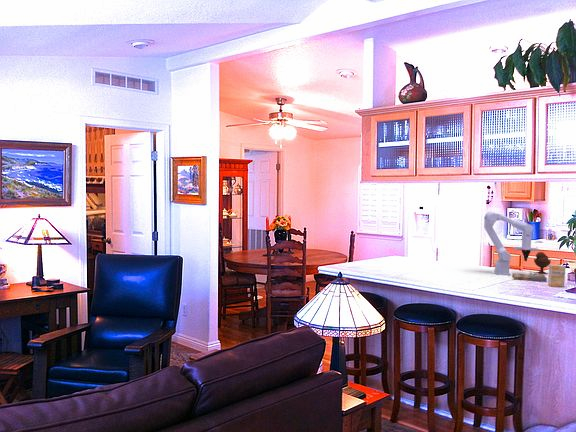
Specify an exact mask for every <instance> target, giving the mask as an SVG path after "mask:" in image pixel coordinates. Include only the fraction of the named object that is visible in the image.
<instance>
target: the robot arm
mask: <svg viewBox="0 0 576 432" xmlns="http://www.w3.org/2000/svg"><path fill="white" fill-rule="evenodd" d="M483 217H484V223H483V225H484V230H485V231H486V233H487V235H488V237H489V239H490V241H491V243H493V246H494V247H495V249H496V253H497V257H498V260H495V262H494V275H509V276H510V275H511V274H510V266H511V265H510V264H511V261H510V260H511V258H512V255H511V253H510V252H508V251H507V249H506V248H505V247H504V245H503V243H502V241H501V239H500V237H499V236H498V234H497V232H496V230H495V229H494V225H495V223H496V222H497V221H503V222H506V223H508V224H510V225H511V226H512V228H515V229H517V230H520V231H521V232H522V235H521V236H522V237H521V246H515V247H514V251H521V253H522V256H523V258H524V259H523V260H524V261H523V262H527V261H528V259H529V256H530V254H531V251H532V252H538V250H539V248H538V247H532V232H533V230H534V228H533V227H534V226H532V224H529V223H527V222H526V221H522V220H521V219H519V218H518V219H515V218H514V219H512V218H510V217H508V216H506V215H504V214H500V213H496V212H492V211H487V212H486V213H485V215H484V216H483Z"/></svg>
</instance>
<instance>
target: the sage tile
mask: <svg viewBox="0 0 576 432" xmlns="http://www.w3.org/2000/svg"><path fill="white" fill-rule="evenodd" d="M527 274H528V275H529V276H530V277H536V275H534V274H535V273H533V272H532V271H529V272H528V273H527Z"/></svg>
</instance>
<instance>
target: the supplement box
mask: <svg viewBox="0 0 576 432" xmlns="http://www.w3.org/2000/svg"><path fill="white" fill-rule="evenodd" d="M565 276H566V265H563V264H551V263H550V264H549V265H548V279H547V280H548V281H547V285H548V286H549V287H556V288H561V287H562V288H565V282H566V281H565V280H566V277H565Z"/></svg>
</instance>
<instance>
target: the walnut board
mask: <svg viewBox="0 0 576 432" xmlns="http://www.w3.org/2000/svg"><path fill="white" fill-rule="evenodd" d="M511 277H512V278H514V279H513V280H514V281H526V282H527V281H528V282H529V281H530V282H532V281H531V277H530V276H529V275H528V273H512V274H511Z"/></svg>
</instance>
